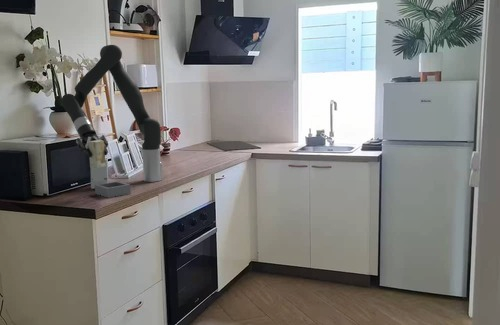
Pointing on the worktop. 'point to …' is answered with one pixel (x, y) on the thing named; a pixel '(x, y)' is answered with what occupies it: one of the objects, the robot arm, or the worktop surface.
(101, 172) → the skincare box
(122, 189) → the tray
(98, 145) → the skincare box
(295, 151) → the worktop surface
